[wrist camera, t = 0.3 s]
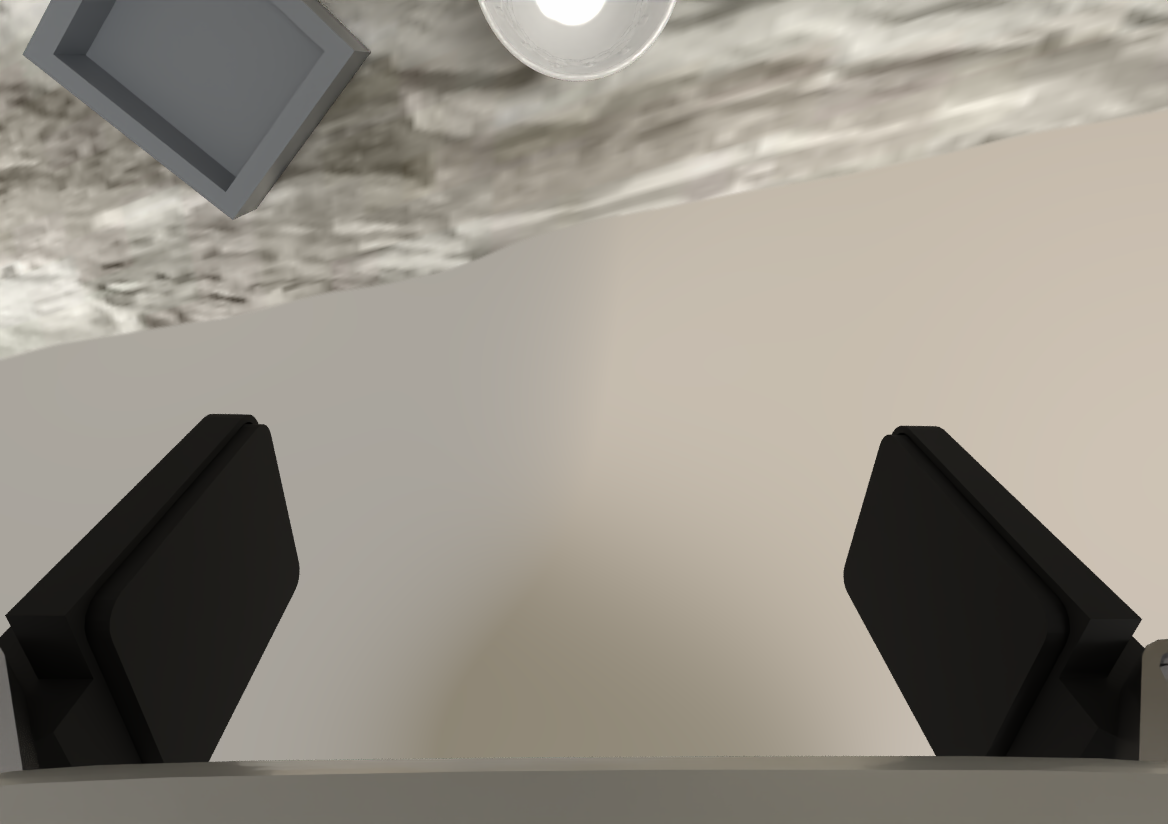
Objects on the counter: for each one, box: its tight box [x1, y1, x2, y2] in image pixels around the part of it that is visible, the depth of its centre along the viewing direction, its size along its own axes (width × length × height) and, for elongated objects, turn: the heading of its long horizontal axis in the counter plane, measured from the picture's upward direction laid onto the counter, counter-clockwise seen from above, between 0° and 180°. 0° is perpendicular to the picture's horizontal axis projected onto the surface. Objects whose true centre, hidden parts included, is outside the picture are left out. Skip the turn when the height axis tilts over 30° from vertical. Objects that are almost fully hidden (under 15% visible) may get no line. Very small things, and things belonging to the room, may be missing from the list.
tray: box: [23, 0, 370, 220], centre depth 32 cm, size 11×11×3 cm
